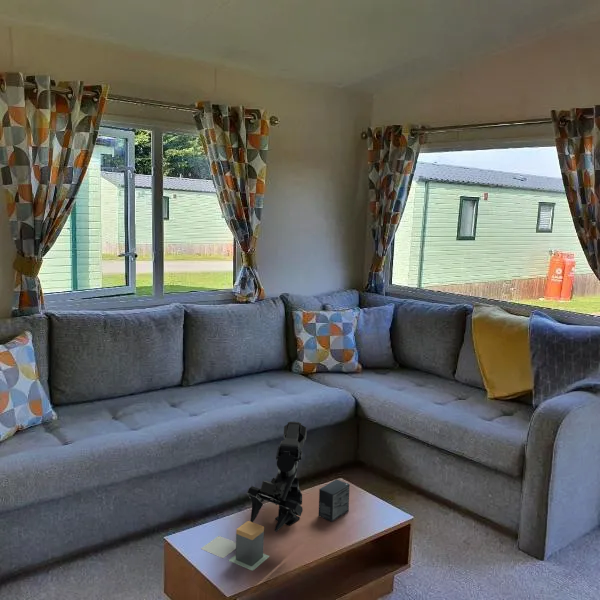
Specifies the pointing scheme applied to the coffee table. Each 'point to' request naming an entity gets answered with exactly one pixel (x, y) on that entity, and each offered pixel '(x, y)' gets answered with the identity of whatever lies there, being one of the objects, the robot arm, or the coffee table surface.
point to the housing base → (249, 549)
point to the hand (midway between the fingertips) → (263, 526)
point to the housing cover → (250, 530)
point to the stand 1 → (220, 547)
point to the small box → (334, 500)
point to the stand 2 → (248, 565)
